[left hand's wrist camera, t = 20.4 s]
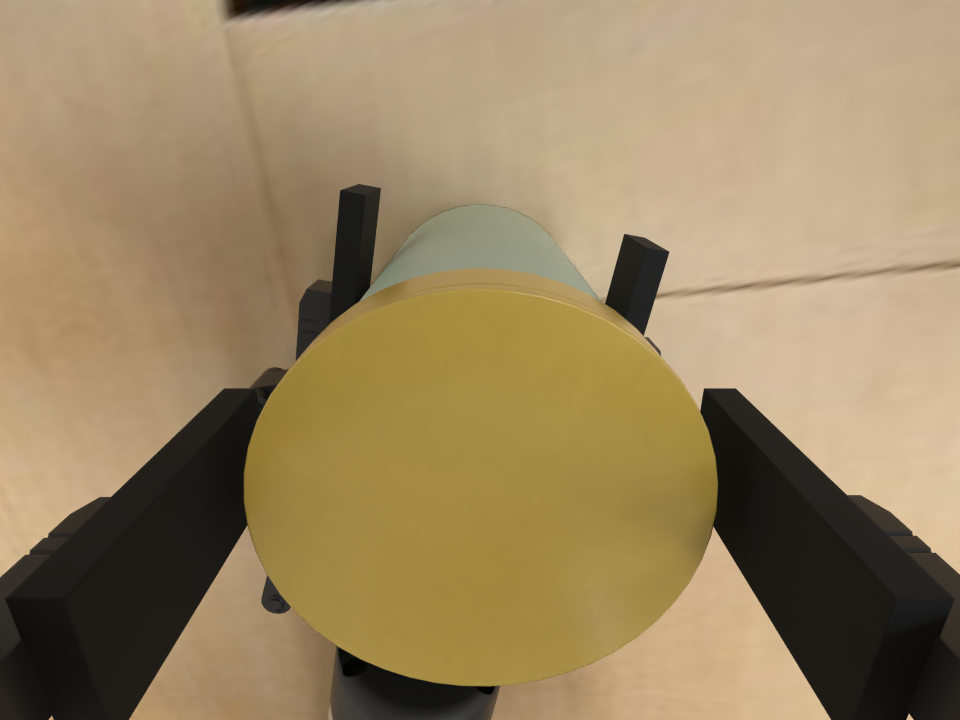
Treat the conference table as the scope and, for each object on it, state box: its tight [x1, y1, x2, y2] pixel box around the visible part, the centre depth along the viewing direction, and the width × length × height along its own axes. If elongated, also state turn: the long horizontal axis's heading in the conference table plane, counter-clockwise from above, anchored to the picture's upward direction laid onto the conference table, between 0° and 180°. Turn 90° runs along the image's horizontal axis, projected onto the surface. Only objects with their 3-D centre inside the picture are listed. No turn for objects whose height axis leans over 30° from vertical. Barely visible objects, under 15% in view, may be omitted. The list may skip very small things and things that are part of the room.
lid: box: [244, 268, 718, 686], centre depth 11 cm, size 9×9×2 cm
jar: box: [359, 205, 602, 302], centre depth 18 cm, size 9×9×15 cm
